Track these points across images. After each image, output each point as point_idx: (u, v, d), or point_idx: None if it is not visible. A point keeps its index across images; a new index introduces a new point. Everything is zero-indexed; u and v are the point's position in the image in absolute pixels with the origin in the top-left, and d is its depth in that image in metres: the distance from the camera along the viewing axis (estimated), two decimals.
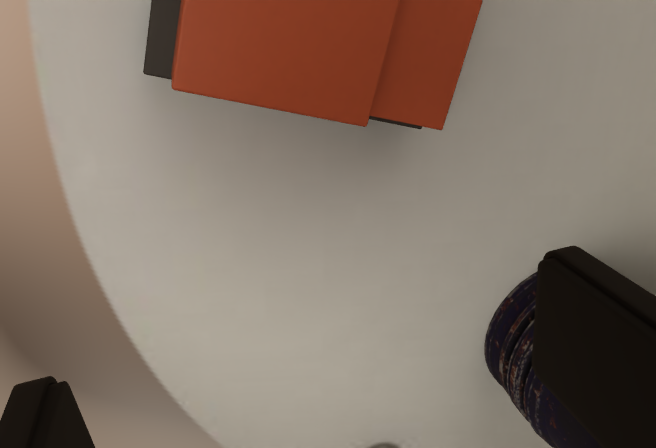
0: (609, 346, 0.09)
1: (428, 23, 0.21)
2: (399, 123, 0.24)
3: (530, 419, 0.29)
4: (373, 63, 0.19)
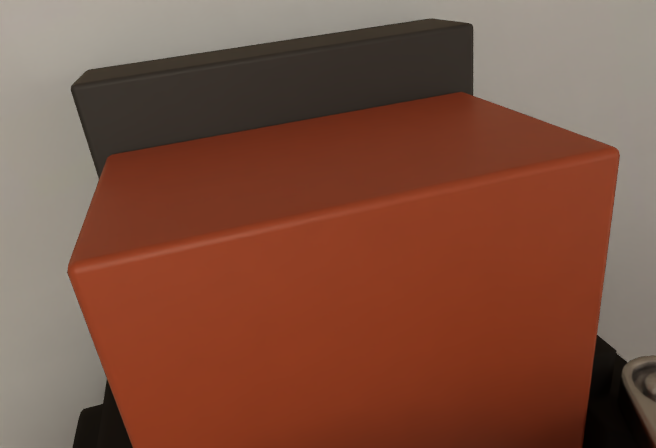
0: None
1: None
2: None
3: None
4: None
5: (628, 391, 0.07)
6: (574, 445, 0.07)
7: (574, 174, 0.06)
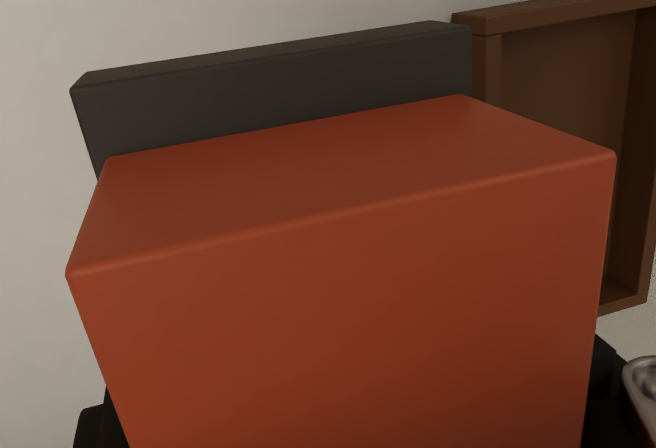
0: None
1: None
2: None
3: None
4: None
5: (628, 391, 0.07)
6: (573, 447, 0.07)
7: (572, 178, 0.06)
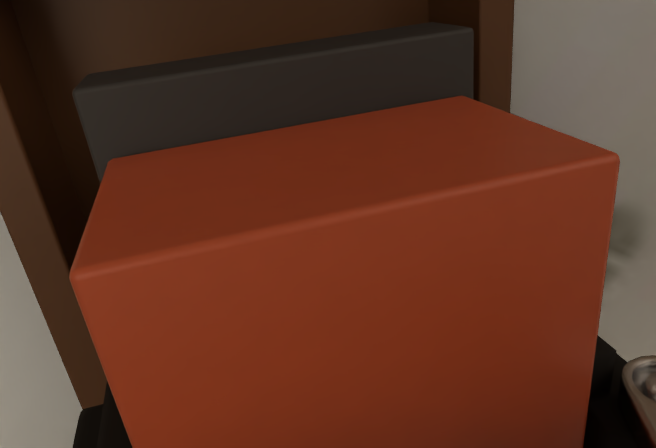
0: None
1: None
2: None
3: None
4: None
5: (628, 391, 0.07)
6: None
7: (575, 180, 0.06)
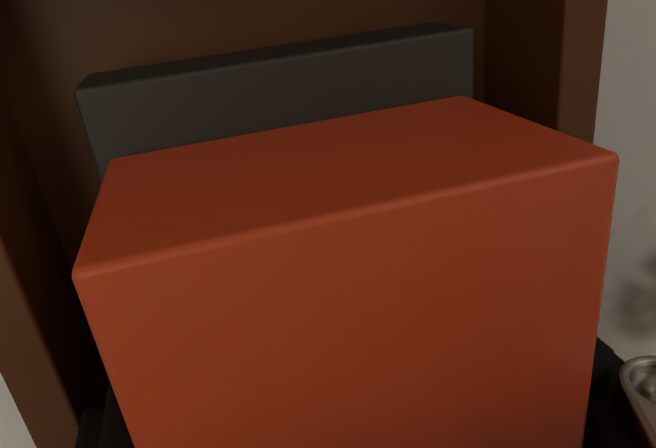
0: None
1: None
2: None
3: None
4: None
5: (626, 391, 0.07)
6: (574, 447, 0.07)
7: (574, 180, 0.06)
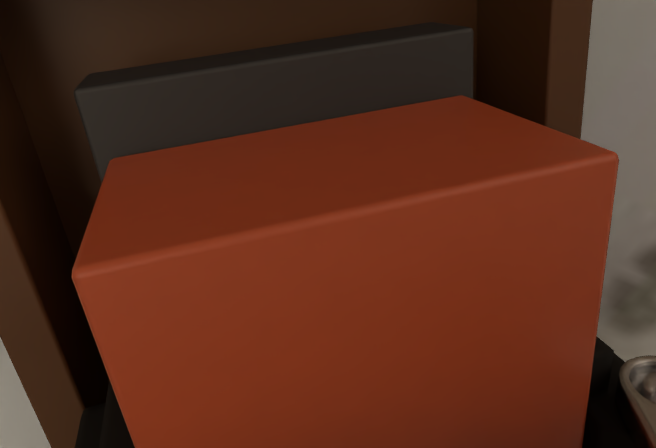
0: None
1: None
2: None
3: None
4: None
5: (625, 391, 0.07)
6: (573, 447, 0.07)
7: (574, 179, 0.06)
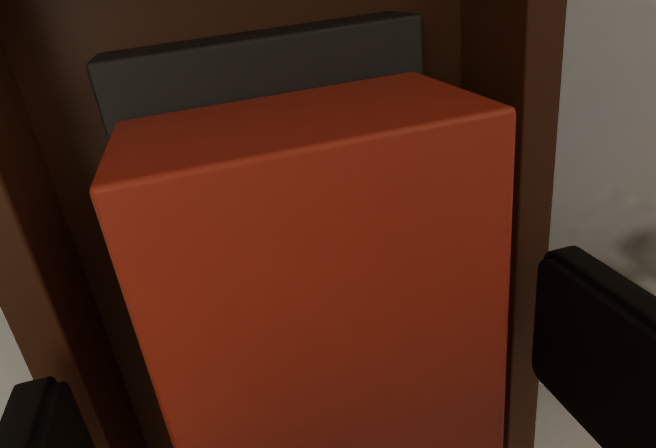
0: (609, 346, 0.09)
1: None
2: None
3: None
4: None
5: None
6: (499, 359, 0.09)
7: (480, 128, 0.07)
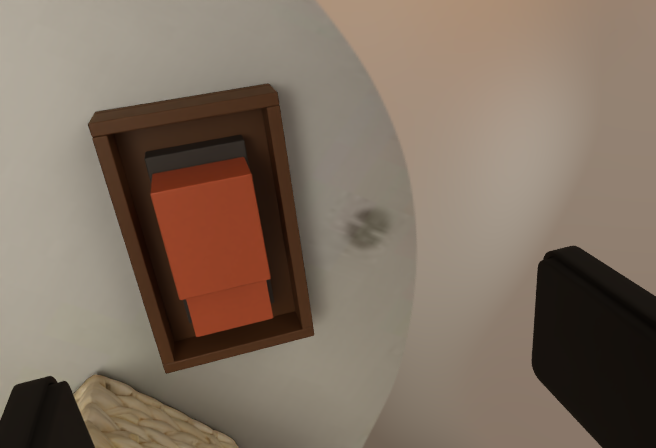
0: (609, 346, 0.09)
1: (249, 298, 0.35)
2: (186, 309, 0.36)
3: None
4: (216, 286, 0.32)
5: None
6: (261, 241, 0.32)
7: (242, 178, 0.30)
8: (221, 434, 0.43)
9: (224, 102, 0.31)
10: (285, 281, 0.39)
